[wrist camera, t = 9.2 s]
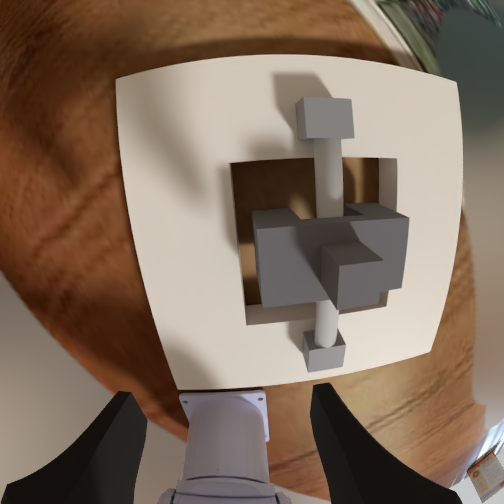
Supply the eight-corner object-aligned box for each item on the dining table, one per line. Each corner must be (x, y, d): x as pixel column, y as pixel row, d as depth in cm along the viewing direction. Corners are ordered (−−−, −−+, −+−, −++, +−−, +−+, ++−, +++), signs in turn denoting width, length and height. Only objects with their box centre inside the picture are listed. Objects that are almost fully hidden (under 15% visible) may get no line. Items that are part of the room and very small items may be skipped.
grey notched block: (372, 261, 18) (424, 310, 11) (256, 274, 17) (268, 338, 11) (375, 202, 16) (438, 231, 10) (251, 210, 16) (261, 248, 10)
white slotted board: (417, 336, 22) (440, 365, 18) (182, 368, 22) (173, 408, 18) (436, 86, 14) (474, 79, 10) (131, 87, 14) (100, 71, 10)
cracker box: (467, 472, 57) (482, 503, 38) (466, 471, 56) (482, 503, 36) (492, 452, 54) (509, 482, 35) (493, 450, 53) (510, 481, 33)
